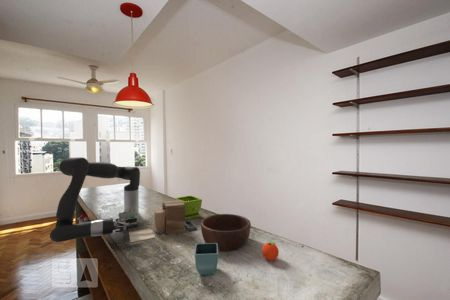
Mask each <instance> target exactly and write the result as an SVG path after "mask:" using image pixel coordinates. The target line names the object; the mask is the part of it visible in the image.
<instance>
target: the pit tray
mask: <svg viewBox="0 0 450 300" xmlns="http://www.w3.org/2000/svg"><path fill="white" fill-rule="evenodd" d="M197 227H198V226H197V225H196V224H195V223H194V222H193V221H192V220H191V219H188V220H185V230H186V231H188V232H190V231H196V230H197Z"/></svg>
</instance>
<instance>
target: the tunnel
mask: <svg viewBox="0 0 450 300" xmlns="http://www.w3.org/2000/svg"><path fill="white" fill-rule="evenodd" d="M164 209H166V232H165V234H166V236H168V235H169V236H170V235H174V234H175V235H176V234H179V233H184V232H186V231H185V230H186V228H185V221H186V220H185V204H184V203H183V202H182V201H181V200H180V199H177V200H175V199H170V200H162V209H161V210H164Z"/></svg>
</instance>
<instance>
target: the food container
mask: <svg viewBox="0 0 450 300" xmlns="http://www.w3.org/2000/svg"><path fill="white" fill-rule="evenodd" d="M135 213H137V211H136V208H134V207H131V209H130V210H126V211H124V210H123V212H118V219H119V218H126V217H128V218H129V219H130V218H136V215H135ZM133 223H136V222H133ZM128 224H132V223H128Z"/></svg>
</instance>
